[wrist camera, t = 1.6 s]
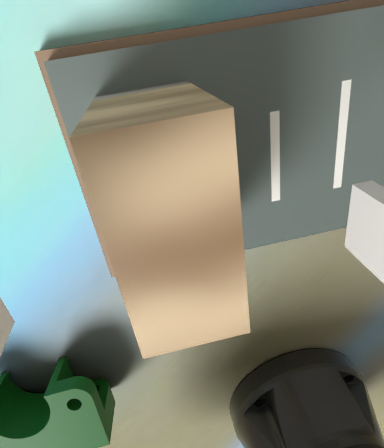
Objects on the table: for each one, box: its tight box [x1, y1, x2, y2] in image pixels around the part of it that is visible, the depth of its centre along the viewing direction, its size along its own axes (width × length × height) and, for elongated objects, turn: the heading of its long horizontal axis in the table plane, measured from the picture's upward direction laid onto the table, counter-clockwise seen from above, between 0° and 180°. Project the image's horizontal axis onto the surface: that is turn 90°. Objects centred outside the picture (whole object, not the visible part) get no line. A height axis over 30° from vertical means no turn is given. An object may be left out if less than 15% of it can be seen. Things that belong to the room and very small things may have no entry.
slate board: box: [35, 0, 384, 277], centre depth 21 cm, size 15×22×2 cm
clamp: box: [0, 356, 115, 448], centre depth 27 cm, size 12×6×9 cm, turn 94°
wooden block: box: [69, 81, 250, 359], centre depth 16 cm, size 10×5×9 cm, turn 8°
